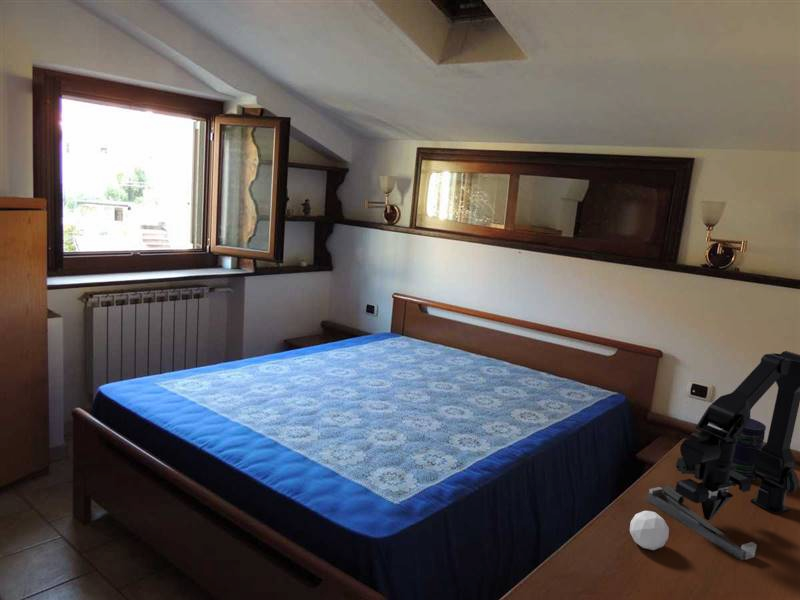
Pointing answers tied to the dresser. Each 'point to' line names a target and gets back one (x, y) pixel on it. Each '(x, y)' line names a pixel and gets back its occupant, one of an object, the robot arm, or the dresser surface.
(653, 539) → the geometric ball
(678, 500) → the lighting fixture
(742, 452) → the storage jar
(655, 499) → the end cap rail
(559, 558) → the dresser surface
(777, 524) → the dresser surface
